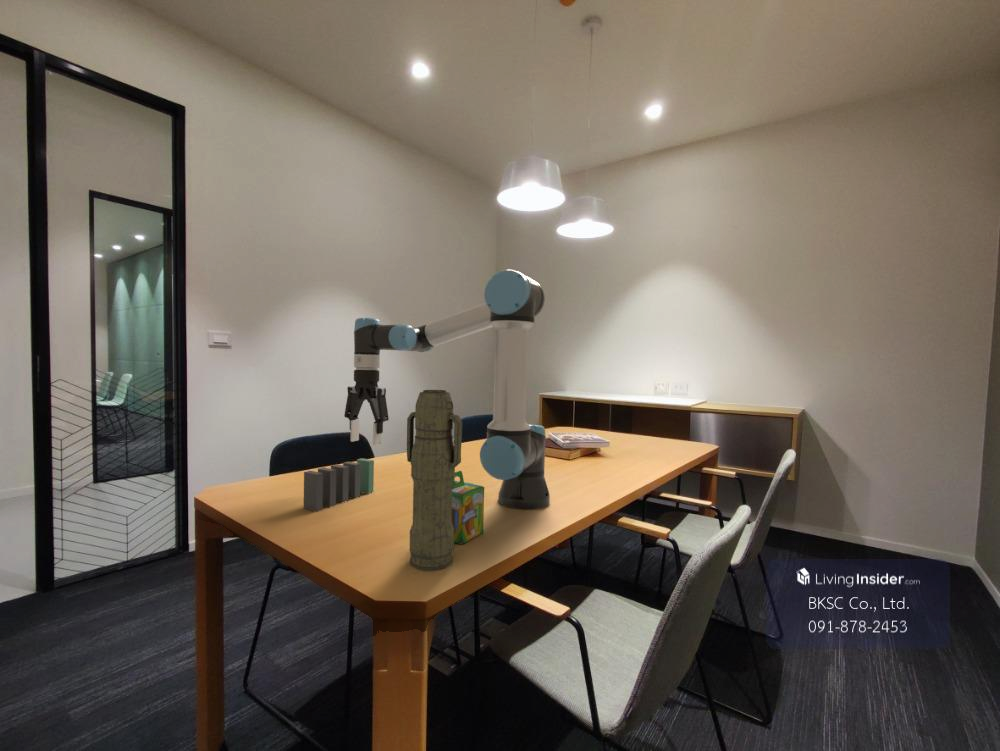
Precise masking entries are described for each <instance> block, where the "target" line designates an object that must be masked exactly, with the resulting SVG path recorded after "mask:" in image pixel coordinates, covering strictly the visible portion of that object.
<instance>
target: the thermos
mask: <svg viewBox="0 0 1000 751" xmlns="http://www.w3.org/2000/svg"><path fill="white" fill-rule="evenodd" d="M406 421H407V422H406V458H407V459H406V460H407V462H408V463H410V465H411V466H410V468H411V469H410V470H411V472H410V476H411V478H412V481H413V485H412V486H413V487H412V489H413V490H412V491H413V492H412V524H411V526H410V529H409V550H408V551H409V552H410V558H409V563H410V566H411V567H412V568H414V569H417V570H419V571H428V572H433V571H440V570H443V569H447V567H449V566H451V564H453V560H454V558H453V557H454V556H453V551H454V548H455V547H454V546H455V544H454V543H455V542H454V527H453V524H452V481H453V478H454V476H455V472H456V467H457V466H459V465H460V464H461V463H462V441H463V440H462V439H463V438H462V437H463V421H462V419H461V418H460V415H458V414H455V413H454V404H453V399H452V396H451V394H450V392H447V390H444V389H424V390H422V391H420V392H419V394H418V396H417V399H416V402H415V411H414V412H410V414H409V415H408V416H407V419H406ZM414 428H415V429H414ZM453 428H454V432H453V433H454V434H453V433H452V430H453ZM414 430H415V432H414ZM414 434H415V435H414ZM453 437H454V438H453ZM453 440H454V441H453Z"/></svg>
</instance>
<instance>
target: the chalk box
mask: <svg viewBox="0 0 1000 751" xmlns="http://www.w3.org/2000/svg"><path fill="white" fill-rule="evenodd" d="M456 477H457V478H459V481H458V480H455V479H456ZM484 510H485V486H483V485H478V484H474V483H471V482H466V481H465V479H464V475H463V472H462V470H458V471H455V476H454V478H453V481H452V524H453V527H454V543H455V544H460V545H464V544H465V543H468V542H469V541H471V540H473V539H475V538H476V537H478V536H480V535H482V534H484V518H485V517H484V516H485V515H484V512H485V511H484Z"/></svg>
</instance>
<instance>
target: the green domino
mask: <svg viewBox="0 0 1000 751" xmlns="http://www.w3.org/2000/svg"><path fill="white" fill-rule="evenodd" d="M356 463H359V464H360V493H361V492H364V493H363V494H365V493H368V494H367V495H370V494H369V493H371V494H373V493H374V486H375V485H374V480H375V476H374V475H375V473H374V472H375V470H374V469H375V468H374V467H375V460H373V459H368V458H363V457H362V458H358V459H356ZM372 492H373V493H372Z"/></svg>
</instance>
